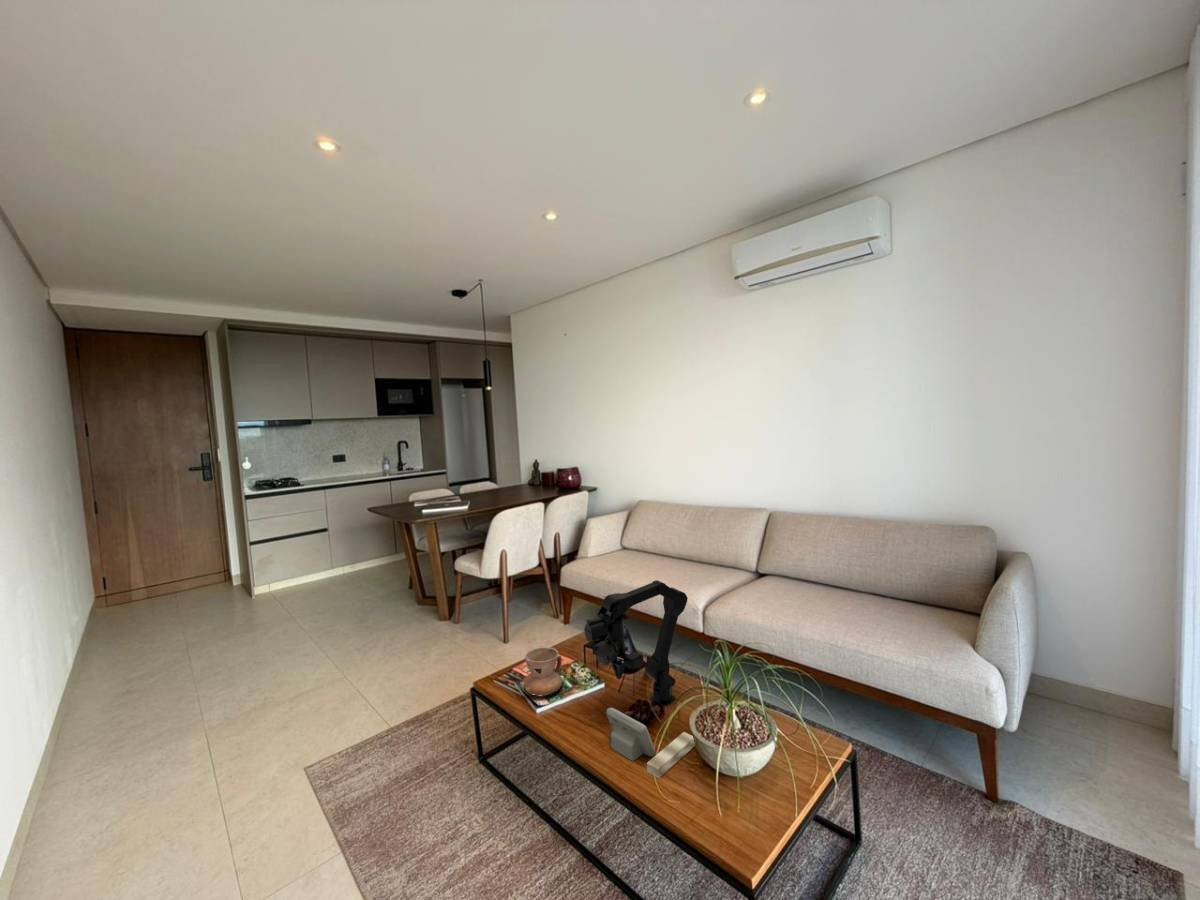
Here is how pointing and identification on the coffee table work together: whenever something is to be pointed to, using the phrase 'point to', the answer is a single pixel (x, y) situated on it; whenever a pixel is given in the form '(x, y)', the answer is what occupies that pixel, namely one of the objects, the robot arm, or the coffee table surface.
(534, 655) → the brown mug
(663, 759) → the pale gray wavy block
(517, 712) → the coffee table surface
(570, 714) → the coffee table surface
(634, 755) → the digital clock
